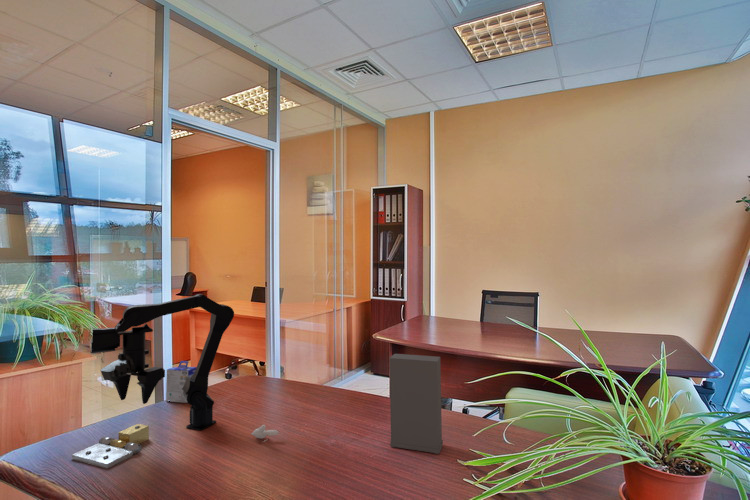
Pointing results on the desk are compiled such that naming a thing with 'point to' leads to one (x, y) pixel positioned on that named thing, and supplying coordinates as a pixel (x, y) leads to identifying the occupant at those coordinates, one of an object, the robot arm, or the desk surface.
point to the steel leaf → (106, 453)
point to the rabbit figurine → (263, 432)
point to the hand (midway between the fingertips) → (133, 401)
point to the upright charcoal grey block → (416, 402)
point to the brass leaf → (132, 436)
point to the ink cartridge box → (177, 382)
